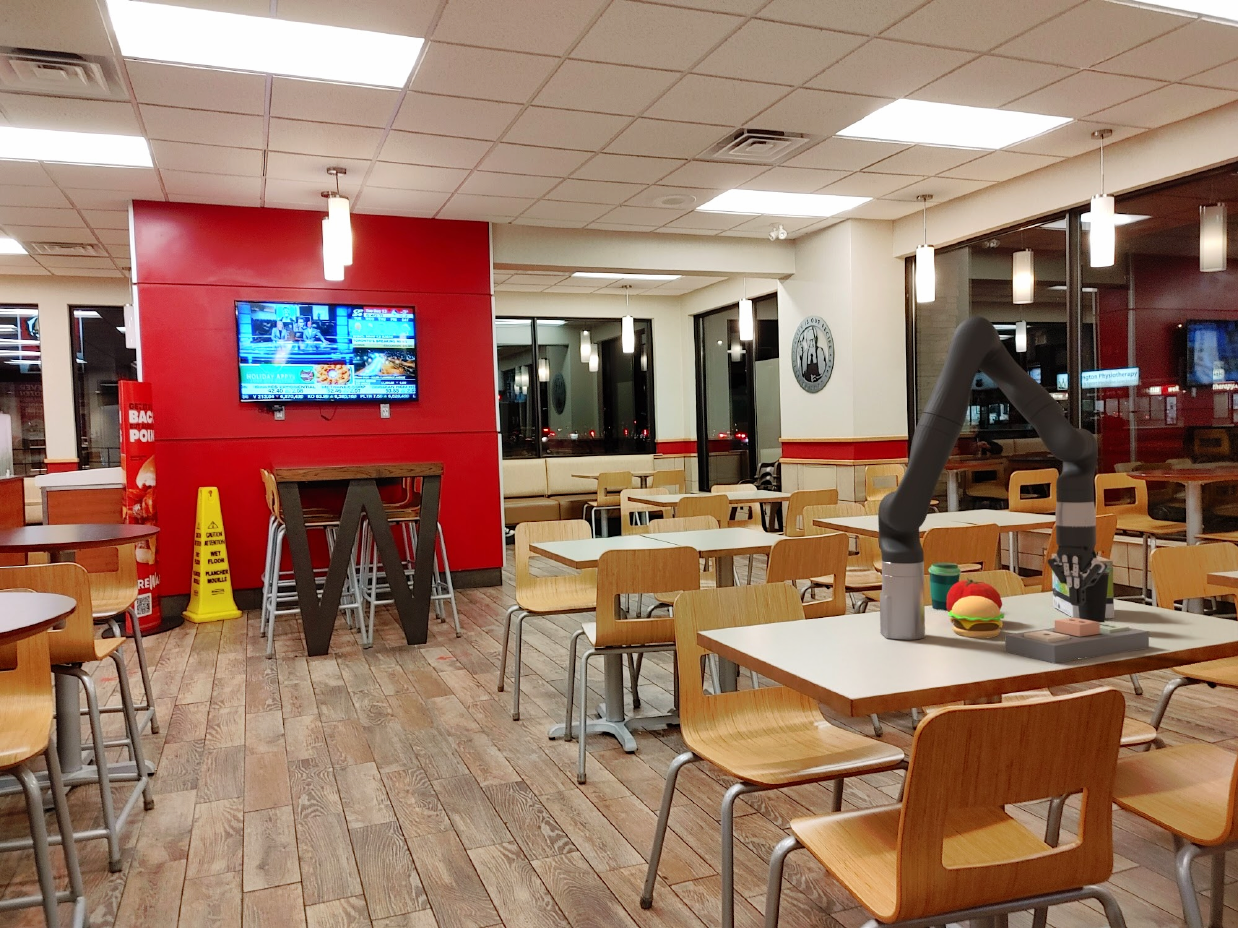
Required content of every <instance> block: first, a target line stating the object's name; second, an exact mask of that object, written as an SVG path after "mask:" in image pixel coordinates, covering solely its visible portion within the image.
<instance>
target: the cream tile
mask: <svg viewBox="0 0 1238 928" xmlns="http://www.w3.org/2000/svg"><path fill="white" fill-rule="evenodd" d="M1024 637H1026V638H1031V639H1036V640H1040V641H1045V642H1055V641H1062V640H1069V639H1070V636H1069V635H1064V634H1059V633H1054V632H1050V631H1038V632H1030V633H1024Z"/></svg>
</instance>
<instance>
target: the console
mask: <svg viewBox="0 0 1238 928" xmlns="http://www.w3.org/2000/svg"><path fill="white" fill-rule="evenodd" d="M1100 623H1101V622H1100ZM1038 631H1050V632H1054V633H1059V634H1064V633H1060V632H1055V627H1051V628H1043V629H1039V630H1038V629H1037V630H1030V631H1022V632H1013V633H1008V634H1004V635H1005V652H1007V653H1011V654H1015V655H1019V656H1024V657H1027V658H1031V659H1035V660H1038V661H1039V660H1040V661H1044V662H1048V663H1052V664H1059V663H1064V662H1070V661H1069V660H1072V661H1076V660H1075V659H1078V658H1084V659H1086V658H1085V657H1090V658H1094V657H1093V656H1096V657H1100V656H1099V655H1102V656H1109V655H1114V654H1120V652H1121V653H1125V652H1126V653H1127V652H1131V651H1132V652H1133V651H1137V650H1145V649H1149V648H1150V633H1149V630H1142V629H1137V628H1133V627H1129V631H1123V632H1116V633H1106V632H1101V631H1100V634H1094V635H1088V636H1081V637H1079V636H1074V635H1069V634H1064V635H1069V636H1070V639H1069V640H1062V641H1055V642H1045V641H1040V640H1036V639H1031V638H1026V637H1024V633H1030V632H1038ZM1078 660H1079V659H1078Z"/></svg>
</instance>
